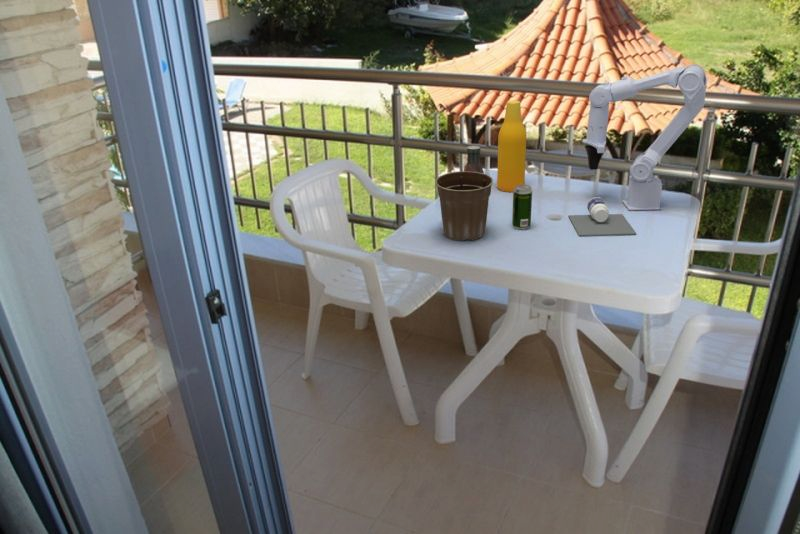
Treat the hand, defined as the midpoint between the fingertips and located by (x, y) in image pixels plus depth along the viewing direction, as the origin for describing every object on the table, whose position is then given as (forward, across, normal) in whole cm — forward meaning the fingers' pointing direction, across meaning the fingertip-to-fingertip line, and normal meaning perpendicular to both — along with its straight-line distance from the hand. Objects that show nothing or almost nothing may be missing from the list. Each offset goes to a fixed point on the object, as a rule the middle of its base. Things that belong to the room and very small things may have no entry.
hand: (592, 168), depth 215 cm
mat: (+10, +21, -1) cm, 24 cm away
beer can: (+11, +20, -24) cm, 33 cm away
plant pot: (+11, +24, -41) cm, 49 cm away
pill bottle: (+7, +12, -1) cm, 14 cm away
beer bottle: (+11, -14, -23) cm, 29 cm away
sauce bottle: (+11, +5, -37) cm, 39 cm away
